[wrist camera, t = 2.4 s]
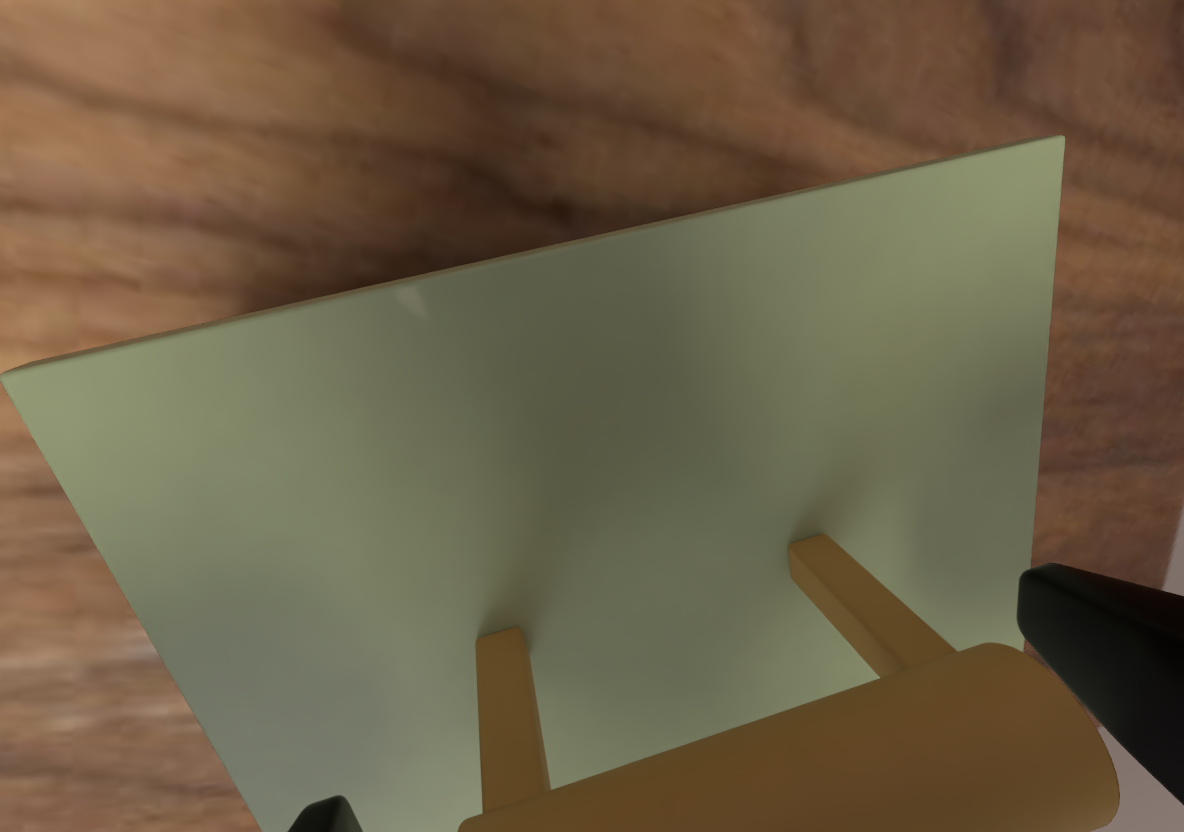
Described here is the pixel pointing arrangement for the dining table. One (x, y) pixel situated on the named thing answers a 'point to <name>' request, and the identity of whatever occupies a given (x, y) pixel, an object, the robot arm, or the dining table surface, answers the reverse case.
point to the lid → (616, 523)
